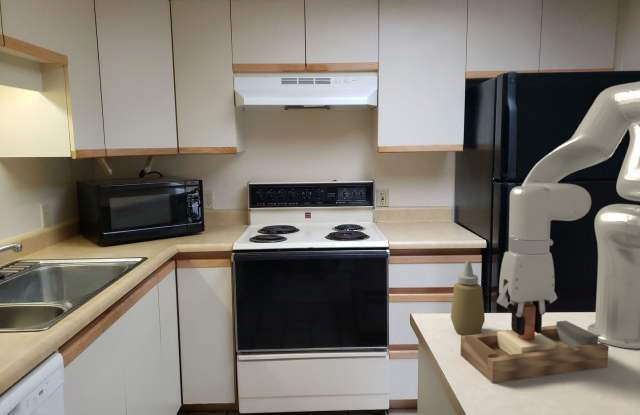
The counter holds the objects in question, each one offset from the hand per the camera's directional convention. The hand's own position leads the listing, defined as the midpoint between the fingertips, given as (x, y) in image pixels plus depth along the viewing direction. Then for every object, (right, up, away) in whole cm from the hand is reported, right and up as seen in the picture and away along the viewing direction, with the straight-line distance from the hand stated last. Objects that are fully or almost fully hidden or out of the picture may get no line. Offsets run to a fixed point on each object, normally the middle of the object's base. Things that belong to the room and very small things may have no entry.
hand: (526, 331), depth 89 cm
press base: (+2, -7, +1) cm, 7 cm away
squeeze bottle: (-7, -5, +17) cm, 19 cm away
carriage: (0, -4, +1) cm, 5 cm away
